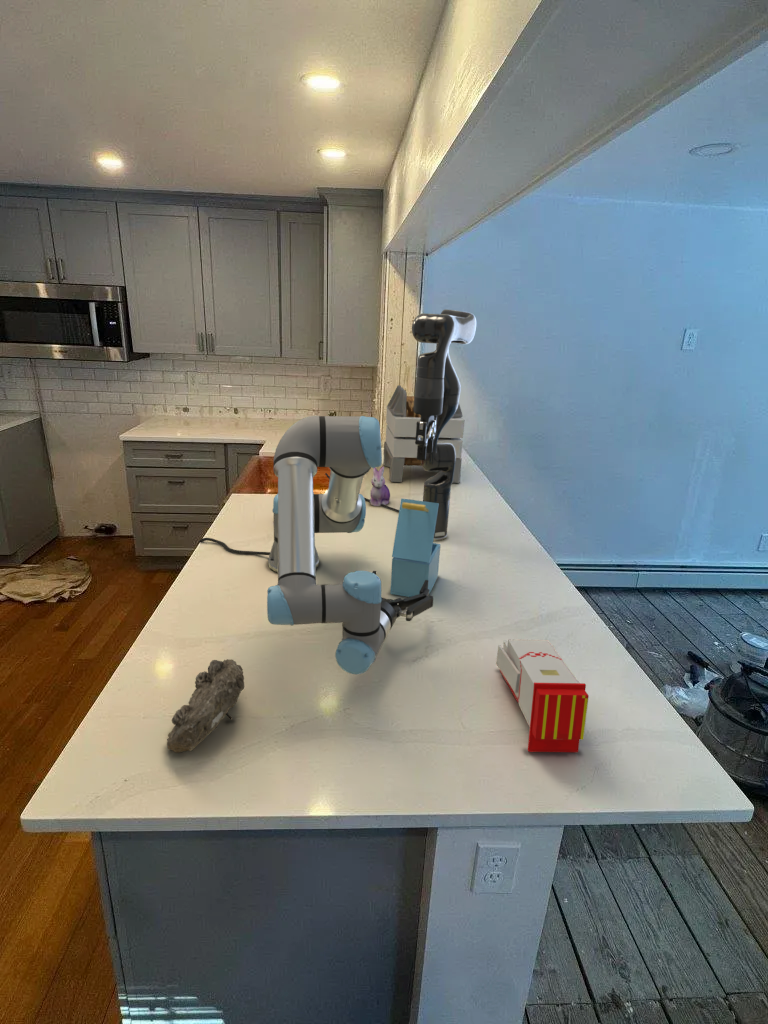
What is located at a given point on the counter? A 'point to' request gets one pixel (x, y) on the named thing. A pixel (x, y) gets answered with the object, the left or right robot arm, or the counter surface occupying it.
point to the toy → (545, 694)
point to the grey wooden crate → (414, 435)
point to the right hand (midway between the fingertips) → (424, 456)
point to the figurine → (379, 489)
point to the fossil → (206, 705)
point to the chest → (414, 574)
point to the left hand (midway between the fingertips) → (400, 580)
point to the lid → (415, 530)
